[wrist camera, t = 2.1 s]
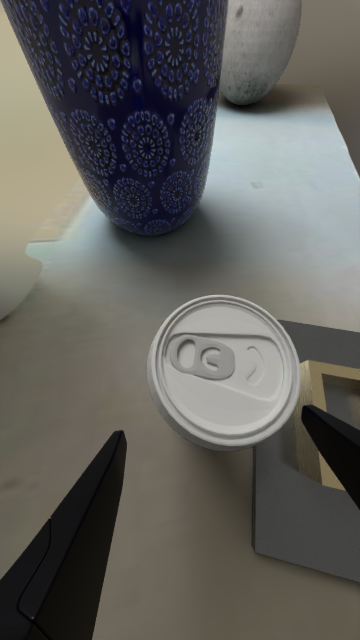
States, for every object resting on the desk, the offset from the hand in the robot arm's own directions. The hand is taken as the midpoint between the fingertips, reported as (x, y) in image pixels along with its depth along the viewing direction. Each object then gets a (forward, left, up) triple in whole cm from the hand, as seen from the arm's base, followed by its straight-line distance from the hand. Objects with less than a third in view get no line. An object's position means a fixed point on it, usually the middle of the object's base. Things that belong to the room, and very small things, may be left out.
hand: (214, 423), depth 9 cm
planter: (+30, +13, -10) cm, 34 cm away
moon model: (+84, 0, -10) cm, 85 cm away
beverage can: (+2, +1, -10) cm, 11 cm away
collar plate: (+2, -13, -10) cm, 17 cm away
